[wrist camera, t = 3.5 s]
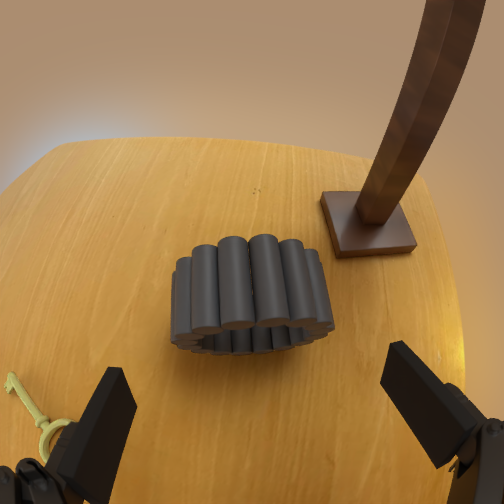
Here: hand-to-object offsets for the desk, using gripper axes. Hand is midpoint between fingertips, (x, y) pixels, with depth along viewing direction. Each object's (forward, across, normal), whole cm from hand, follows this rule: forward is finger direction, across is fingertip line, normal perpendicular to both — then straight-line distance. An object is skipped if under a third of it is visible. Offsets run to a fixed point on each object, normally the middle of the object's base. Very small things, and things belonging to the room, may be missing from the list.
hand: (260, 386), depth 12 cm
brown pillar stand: (+17, +15, +1) cm, 22 cm away
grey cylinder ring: (+12, 0, -4) cm, 12 cm away
